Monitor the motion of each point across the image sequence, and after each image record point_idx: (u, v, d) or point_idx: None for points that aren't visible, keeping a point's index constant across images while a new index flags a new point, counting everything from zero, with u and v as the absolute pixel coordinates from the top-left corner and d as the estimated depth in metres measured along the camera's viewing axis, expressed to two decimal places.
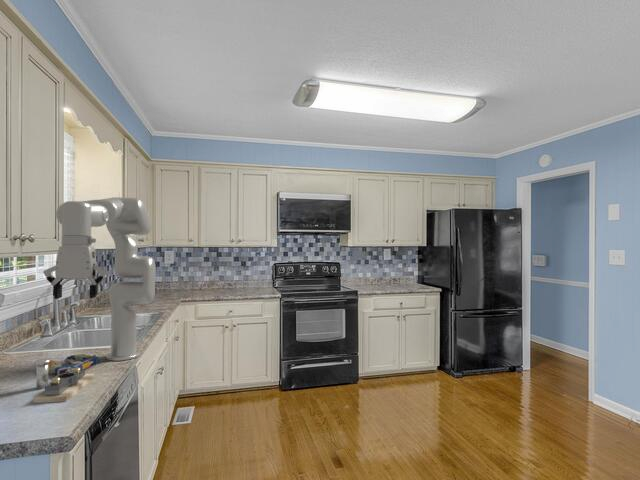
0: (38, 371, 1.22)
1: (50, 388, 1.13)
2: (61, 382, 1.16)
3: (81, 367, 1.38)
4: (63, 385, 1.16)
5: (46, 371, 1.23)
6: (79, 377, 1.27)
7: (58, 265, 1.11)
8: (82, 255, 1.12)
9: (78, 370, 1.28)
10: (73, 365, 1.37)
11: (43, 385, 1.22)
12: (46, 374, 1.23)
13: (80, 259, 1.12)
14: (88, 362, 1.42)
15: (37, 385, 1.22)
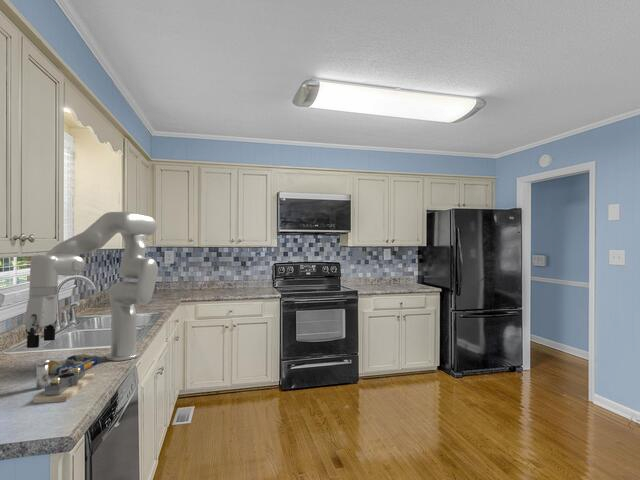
0: (38, 371, 1.22)
1: (50, 388, 1.13)
2: (61, 382, 1.16)
3: (83, 367, 1.38)
4: (63, 385, 1.16)
5: (46, 371, 1.23)
6: (79, 377, 1.27)
7: (43, 315, 1.20)
8: (54, 303, 1.26)
9: (78, 370, 1.28)
10: (75, 365, 1.37)
11: (43, 385, 1.22)
12: (46, 374, 1.23)
13: (54, 306, 1.26)
14: (89, 362, 1.43)
15: (37, 385, 1.22)
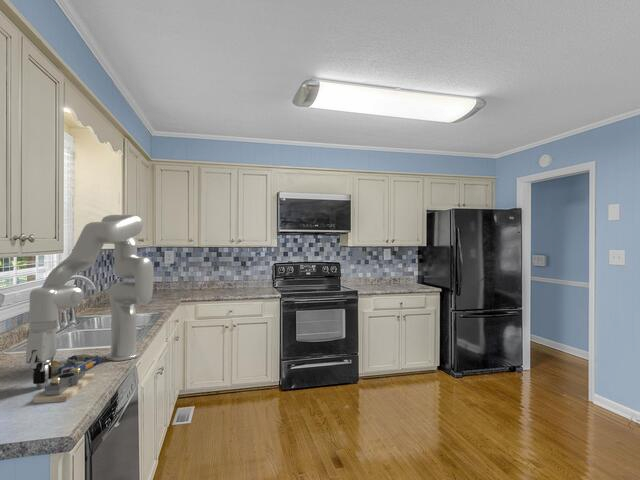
0: None
1: (50, 388, 1.13)
2: (61, 382, 1.16)
3: (84, 367, 1.38)
4: (63, 385, 1.16)
5: (47, 371, 1.23)
6: (79, 377, 1.27)
7: (44, 349, 1.20)
8: (55, 335, 1.27)
9: (78, 370, 1.28)
10: (76, 365, 1.37)
11: (43, 385, 1.22)
12: (46, 374, 1.23)
13: (54, 339, 1.26)
14: (91, 362, 1.43)
15: (37, 385, 1.22)
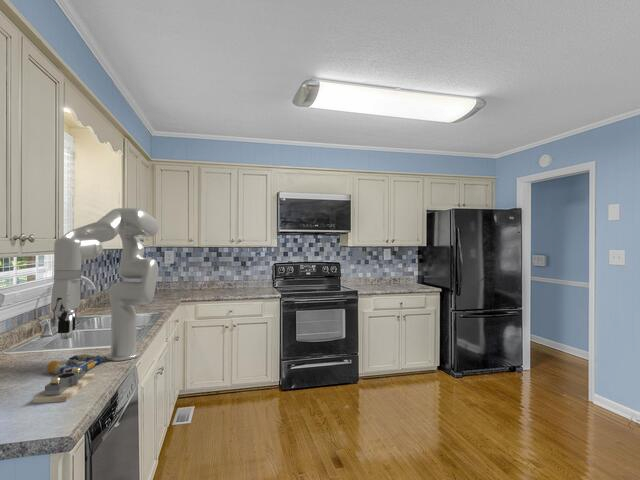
0: None
1: (50, 388, 1.13)
2: (61, 382, 1.16)
3: (86, 367, 1.38)
4: (63, 385, 1.16)
5: (71, 321, 1.22)
6: (79, 377, 1.27)
7: (69, 298, 1.19)
8: (78, 286, 1.25)
9: (78, 370, 1.28)
10: (78, 365, 1.37)
11: (67, 335, 1.21)
12: (70, 324, 1.22)
13: (78, 290, 1.25)
14: (92, 362, 1.43)
15: (61, 335, 1.21)
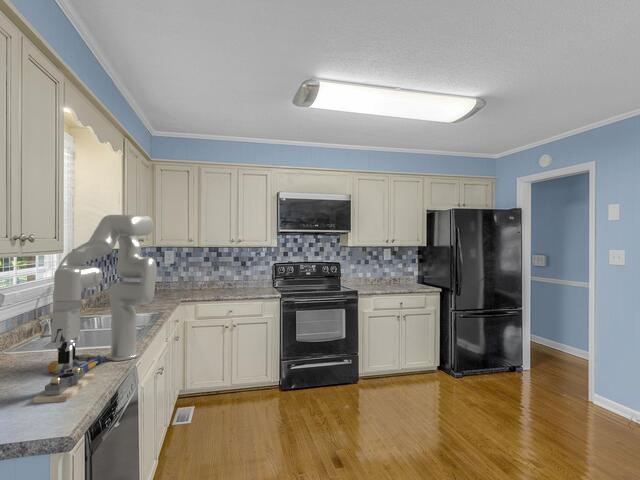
0: None
1: (50, 388, 1.13)
2: (61, 382, 1.16)
3: (87, 367, 1.38)
4: (63, 385, 1.16)
5: (71, 352, 1.22)
6: (79, 377, 1.27)
7: (69, 329, 1.19)
8: (79, 316, 1.25)
9: (78, 370, 1.28)
10: (79, 365, 1.37)
11: (67, 365, 1.21)
12: (70, 354, 1.22)
13: (78, 320, 1.25)
14: (93, 362, 1.43)
15: (61, 365, 1.21)
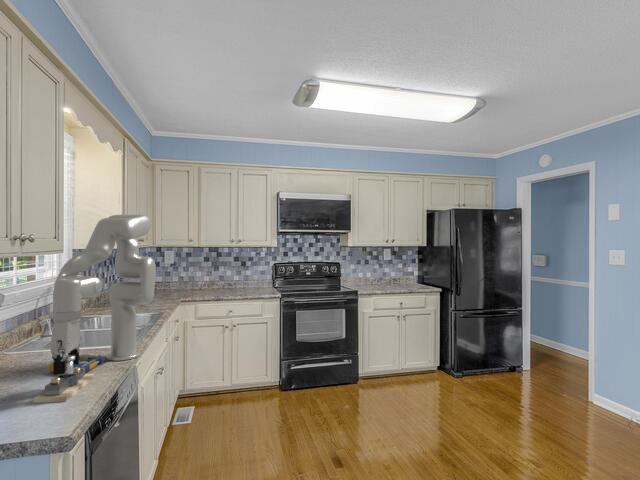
0: None
1: (50, 388, 1.13)
2: (61, 382, 1.16)
3: (88, 367, 1.38)
4: (63, 385, 1.16)
5: (71, 368, 1.22)
6: (79, 377, 1.27)
7: (69, 340, 1.19)
8: (78, 326, 1.25)
9: (78, 370, 1.28)
10: (80, 365, 1.37)
11: None
12: (71, 370, 1.22)
13: (78, 330, 1.25)
14: (94, 362, 1.43)
15: None
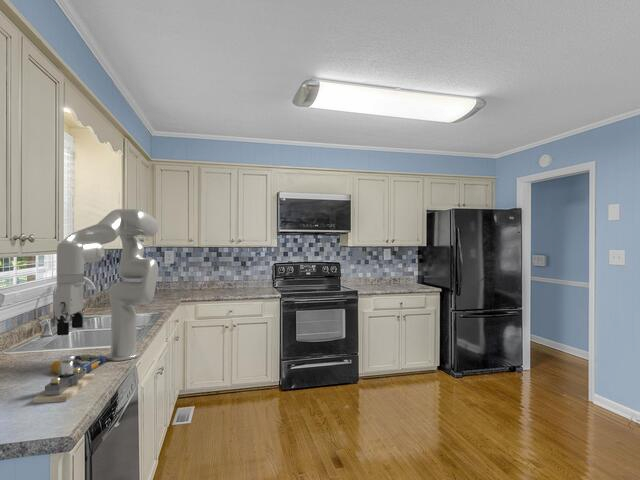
0: (63, 367, 1.21)
1: (50, 388, 1.13)
2: (61, 382, 1.16)
3: (90, 367, 1.38)
4: (63, 385, 1.16)
5: (71, 368, 1.22)
6: (79, 377, 1.27)
7: (72, 302, 1.20)
8: (81, 290, 1.26)
9: (78, 370, 1.28)
10: (82, 365, 1.37)
11: None
12: (71, 370, 1.22)
13: (81, 294, 1.25)
14: (96, 362, 1.43)
15: None
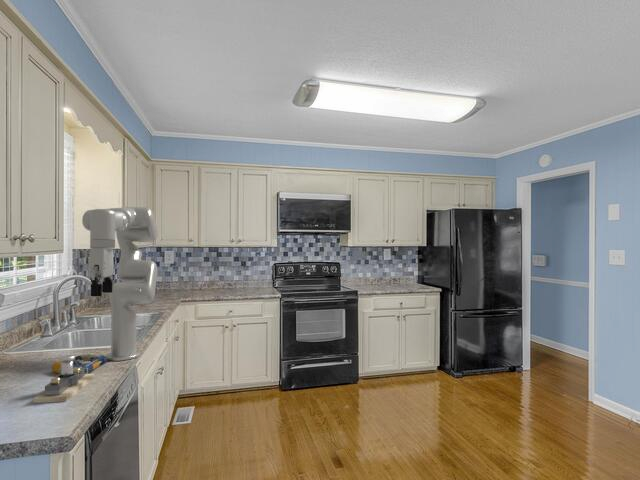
0: (63, 367, 1.21)
1: (50, 388, 1.13)
2: (61, 382, 1.16)
3: (92, 367, 1.38)
4: (63, 385, 1.16)
5: (71, 368, 1.22)
6: (79, 377, 1.27)
7: (105, 265, 1.26)
8: (112, 256, 1.32)
9: (78, 370, 1.28)
10: (84, 365, 1.37)
11: None
12: (71, 370, 1.22)
13: (112, 259, 1.31)
14: (97, 362, 1.43)
15: None
